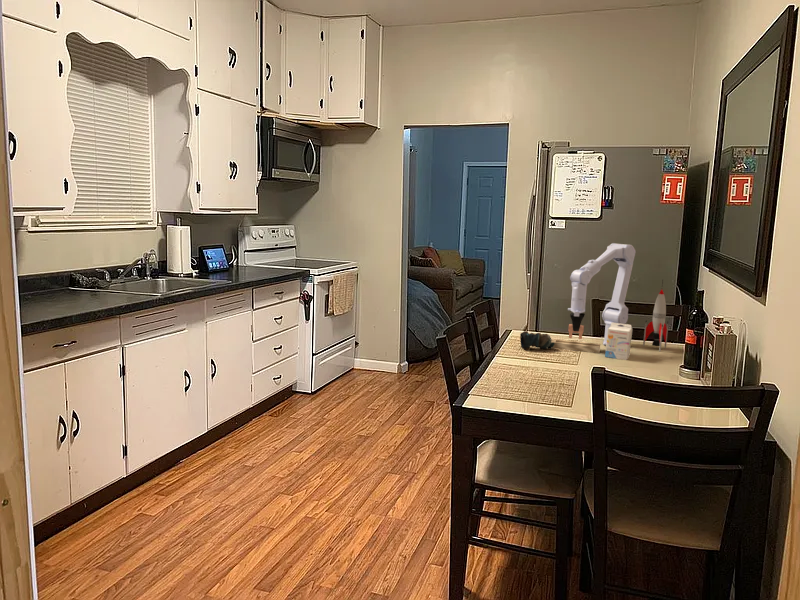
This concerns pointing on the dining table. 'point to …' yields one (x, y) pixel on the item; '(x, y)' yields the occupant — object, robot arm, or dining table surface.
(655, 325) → the toy
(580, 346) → the rail
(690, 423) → the dining table surface
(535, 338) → the figurine
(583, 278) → the robot arm
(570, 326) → the tall salmon pink block
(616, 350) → the ink box
